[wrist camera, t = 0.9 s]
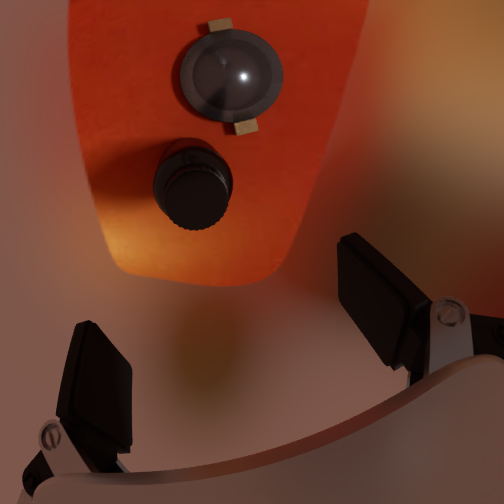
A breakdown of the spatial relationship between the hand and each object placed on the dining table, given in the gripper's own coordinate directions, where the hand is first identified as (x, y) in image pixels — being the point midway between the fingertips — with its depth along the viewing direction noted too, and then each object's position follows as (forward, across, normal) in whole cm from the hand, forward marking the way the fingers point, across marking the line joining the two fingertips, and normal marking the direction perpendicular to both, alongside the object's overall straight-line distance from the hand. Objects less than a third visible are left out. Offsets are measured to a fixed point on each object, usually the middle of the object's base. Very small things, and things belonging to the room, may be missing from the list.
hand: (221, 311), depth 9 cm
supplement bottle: (+23, 0, 0) cm, 23 cm away
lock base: (+23, -7, -9) cm, 26 cm away
